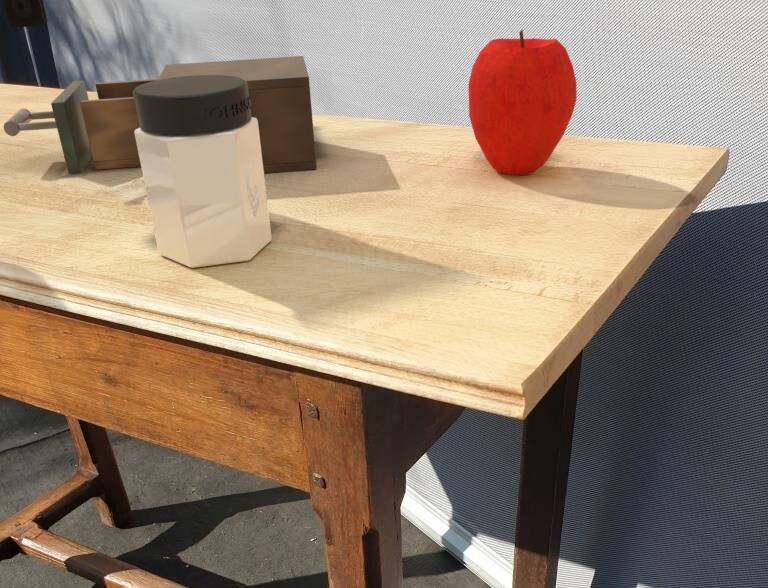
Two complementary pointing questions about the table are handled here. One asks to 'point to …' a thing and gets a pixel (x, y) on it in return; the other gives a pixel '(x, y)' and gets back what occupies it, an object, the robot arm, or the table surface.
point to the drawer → (90, 125)
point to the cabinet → (270, 106)
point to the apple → (521, 101)
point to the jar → (202, 169)
